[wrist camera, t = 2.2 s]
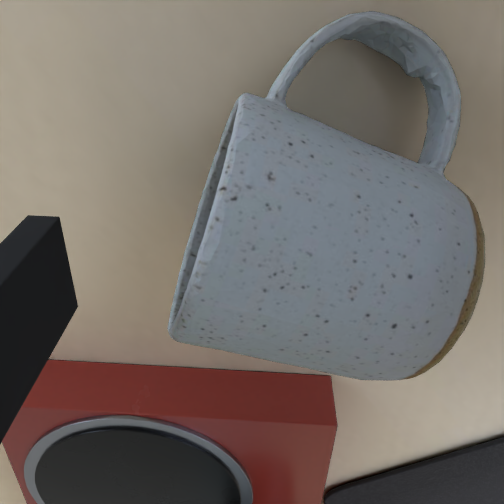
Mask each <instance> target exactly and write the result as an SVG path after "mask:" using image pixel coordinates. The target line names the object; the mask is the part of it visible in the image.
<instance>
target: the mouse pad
mask: <svg viewBox="0 0 504 504" xmlns="http://www.w3.org/2000/svg"><path fill="white" fill-rule="evenodd" d="M324 504H504V437H502V438H499V439H496V440H492V441H489V442H486V443H482V444H479V445H476V446H472V447H469V448H466V449H462V450H459V451H455V452H452V453H449V454H445V455H442V456H439V457H435V458H432V459H429V460H425V461H422V462H419V463H415V464H412V465H409V466H405V467H402V468H399V469H395V470H392V471H389V472H385V473H382V474H379V475H375V476H372V477H369V478H365V479H362V480H359V481H355V482H352V483H349V484H345V485H342V486H339V487H337V488H335V489H333V490H331V491H329V492H328V493H327V494H326V495H325V497H324Z"/></svg>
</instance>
